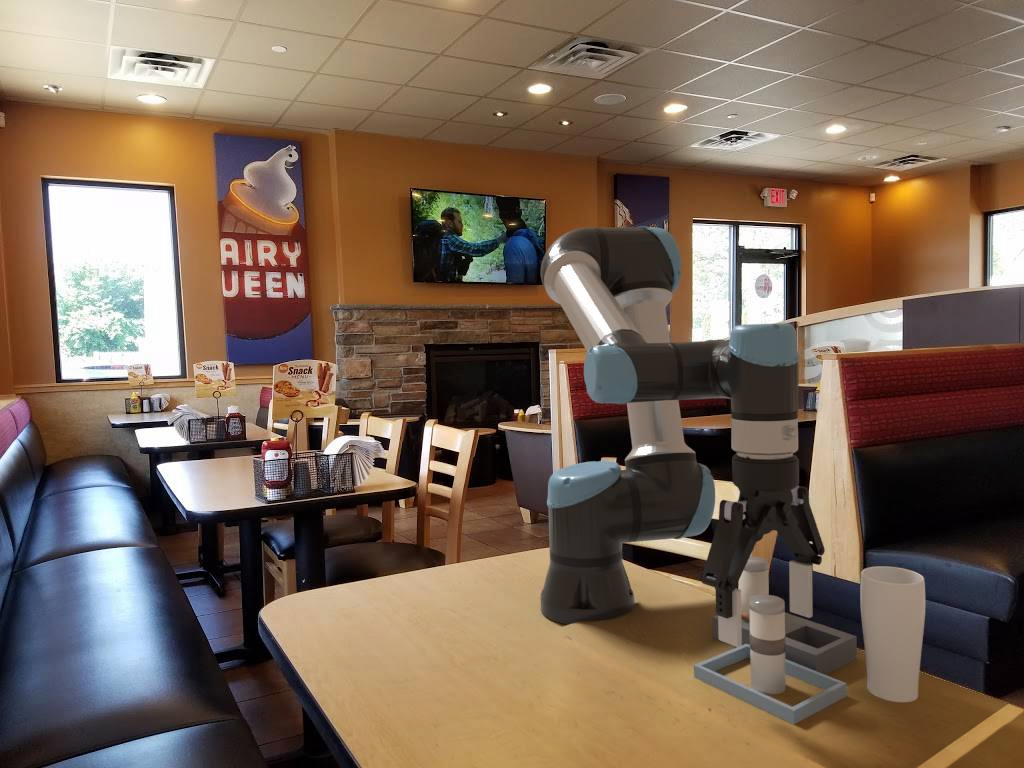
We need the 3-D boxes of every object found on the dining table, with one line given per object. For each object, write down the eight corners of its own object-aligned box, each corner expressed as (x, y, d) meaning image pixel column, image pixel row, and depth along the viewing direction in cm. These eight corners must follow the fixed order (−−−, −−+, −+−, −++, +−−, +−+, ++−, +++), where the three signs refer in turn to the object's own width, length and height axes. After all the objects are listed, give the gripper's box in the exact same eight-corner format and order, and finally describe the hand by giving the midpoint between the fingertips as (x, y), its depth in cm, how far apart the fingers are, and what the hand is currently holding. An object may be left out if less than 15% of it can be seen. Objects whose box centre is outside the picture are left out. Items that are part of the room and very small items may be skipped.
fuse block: (713, 644, 103) (712, 616, 103) (753, 628, 108) (753, 601, 108) (815, 686, 90) (815, 655, 90) (856, 666, 95) (856, 636, 95)
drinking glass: (923, 719, 82) (923, 588, 81) (857, 704, 85) (856, 579, 84) (926, 693, 88) (926, 570, 87) (864, 680, 91) (863, 562, 90)
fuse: (732, 636, 103) (731, 559, 103) (751, 628, 106) (750, 554, 105) (757, 645, 100) (756, 566, 99) (775, 637, 102) (774, 560, 101)
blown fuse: (743, 687, 89) (741, 599, 88) (764, 678, 91) (763, 592, 91) (772, 700, 86) (770, 609, 85) (793, 690, 88) (792, 601, 87)
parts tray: (694, 684, 92) (693, 665, 92) (746, 661, 97) (746, 643, 97) (793, 732, 80) (793, 710, 80) (846, 703, 86) (846, 683, 85)
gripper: (720, 471, 77) (723, 668, 78) (853, 444, 91) (854, 611, 92) (667, 462, 83) (671, 644, 84) (800, 439, 97) (801, 595, 98)
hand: (767, 628), depth 88 cm, fingers open, 13 cm apart
